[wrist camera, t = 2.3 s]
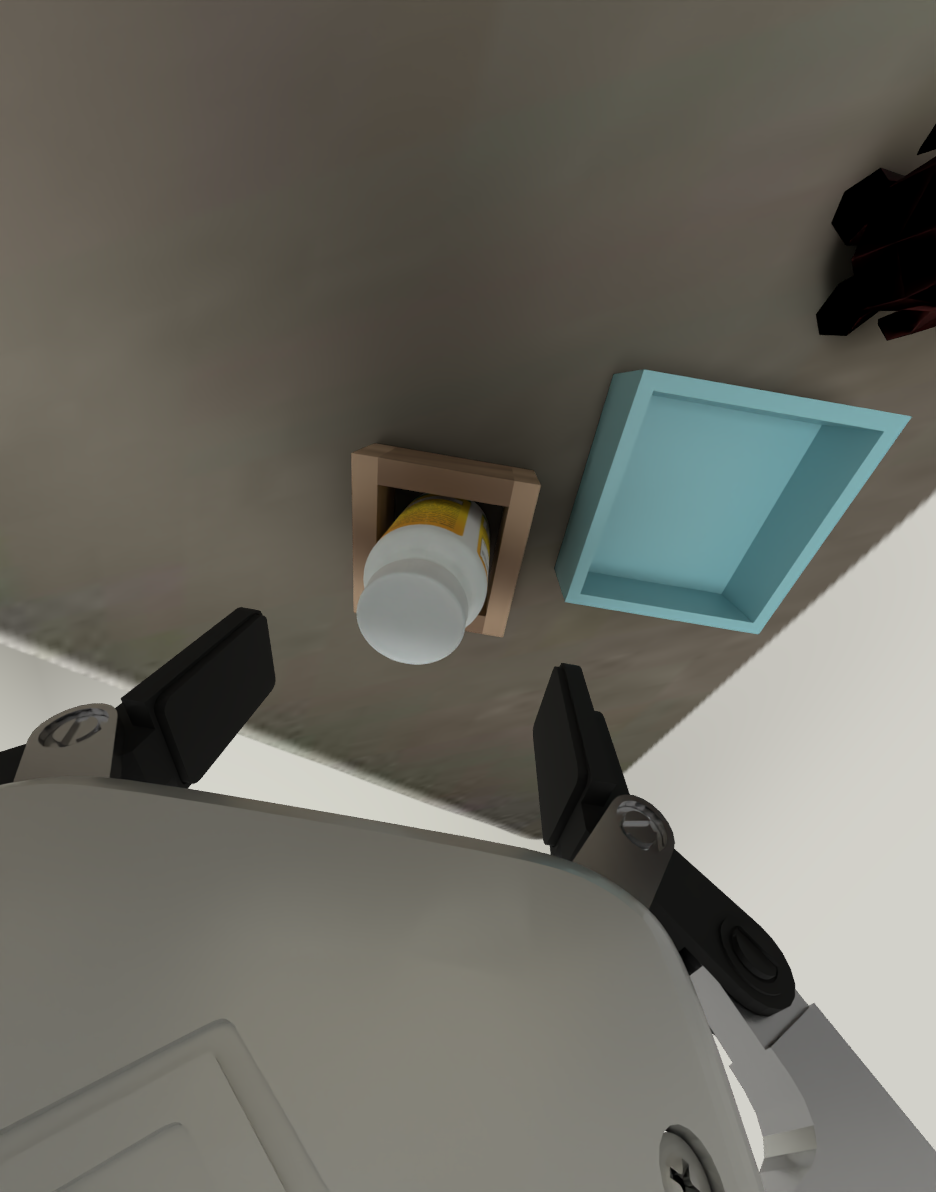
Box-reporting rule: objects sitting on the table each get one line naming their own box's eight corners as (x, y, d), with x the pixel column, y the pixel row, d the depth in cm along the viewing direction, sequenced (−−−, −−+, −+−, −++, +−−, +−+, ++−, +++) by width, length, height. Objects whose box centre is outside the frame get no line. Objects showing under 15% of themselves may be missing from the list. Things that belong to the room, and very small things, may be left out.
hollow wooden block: (374, 443, 19) (351, 452, 16) (533, 470, 19) (540, 485, 16) (372, 583, 23) (353, 612, 20) (502, 605, 23) (502, 637, 20)
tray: (613, 374, 17) (644, 369, 13) (826, 411, 17) (912, 416, 13) (554, 568, 22) (565, 602, 18) (716, 596, 22) (758, 634, 18)
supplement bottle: (509, 536, 21) (517, 631, 13) (445, 588, 23) (416, 700, 15) (444, 465, 19) (404, 522, 11) (382, 529, 21) (308, 617, 13)
